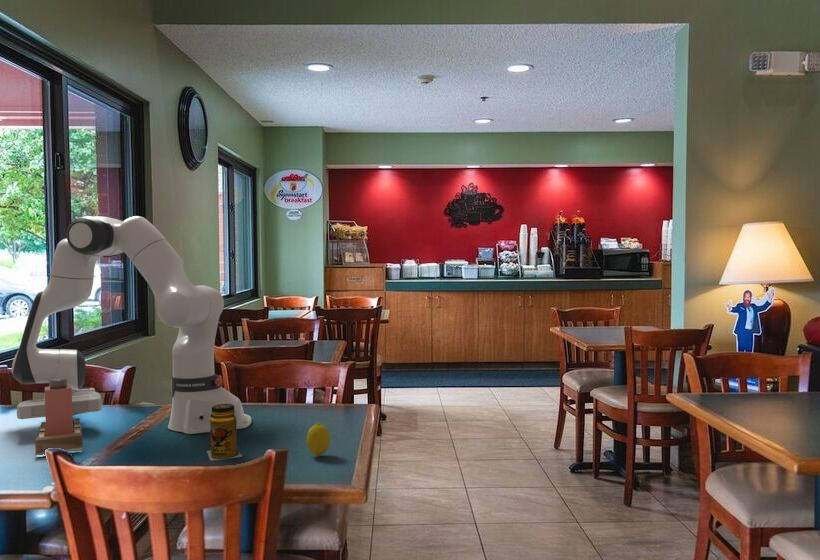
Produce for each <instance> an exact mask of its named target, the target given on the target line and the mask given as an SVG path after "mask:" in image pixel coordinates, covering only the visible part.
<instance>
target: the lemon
mask: <svg viewBox="0 0 820 560" xmlns="http://www.w3.org/2000/svg"><path fill="white" fill-rule="evenodd" d="M306 445H307V448H308V450H309V452H310V453H312V454H313V455H316V457H319V458H320V457H321V456H322V455H323V454H325V453H326V452H327V451H328V450H329V448H330V445H331V435H330V431H329V429H328V427H327V426H325V425H323V424H321V423H320V422H317V423H316V424H314V425H312V426H311V427H310V428H309V430H308V432H307V435H306Z"/></svg>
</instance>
